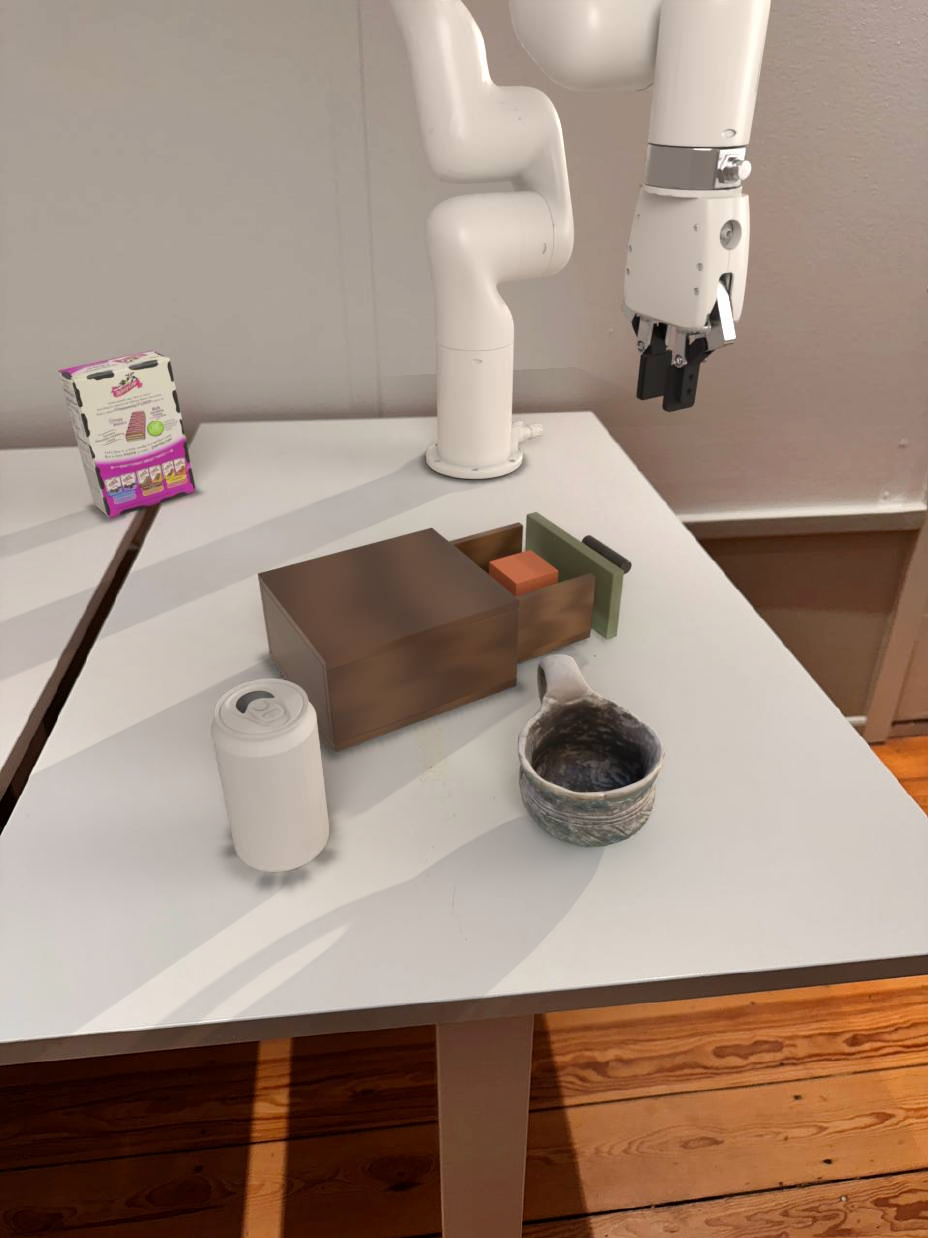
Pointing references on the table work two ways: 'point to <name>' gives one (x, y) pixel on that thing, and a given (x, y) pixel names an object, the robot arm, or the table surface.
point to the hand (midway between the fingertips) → (664, 400)
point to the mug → (586, 761)
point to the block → (523, 572)
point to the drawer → (574, 600)
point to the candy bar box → (129, 431)
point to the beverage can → (271, 774)
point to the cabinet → (390, 633)
